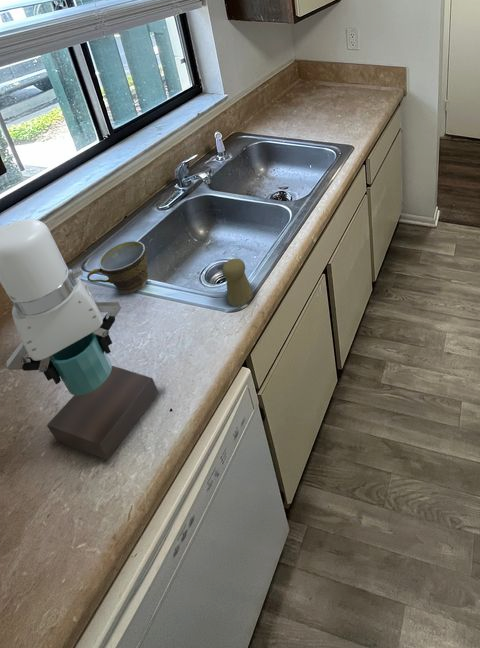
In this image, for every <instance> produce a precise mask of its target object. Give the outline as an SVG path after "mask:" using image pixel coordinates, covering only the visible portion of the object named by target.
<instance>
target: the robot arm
mask: <svg viewBox="0 0 480 648" xmlns="http://www.w3.org/2000/svg"><path fill="white" fill-rule="evenodd" d="M83 275H84V273H83V271H82V269H81V267H78V268H74V269H71V268H69V267H68V266H67V264H66V261H65V259H64V258H63V255H62V253H61V252H60V249H59V248H58V244H57V243H56V240H55V239H54V237H53V235H52V233H51V231H50V229H49V227H48V226H47V224H45V223H44V222H43V221H41V220H38V219H33V218H32V219H31V218H29V219H22V220H17V221H13V222H11V223H8V224H6V225H0V284H1V286H2V287H3V289H4V291H5V293H6V295H7V296H8V298H9V299H10V301H11V303H12V305H13V306H12V308H11V315H12V319H13V322H14V325H15V328H16V331H17V333H18V335H19V338H20V340H21V341H20V343H19V344H18V346H16V349H15V350H13V353H12V354H11V355H10V357H9V358H8V359H7V361H6V362H5V364H6V369H7V370H8V371H9V370H11V371H12V370H14V371H20V370H22V371H24V372H28V371H31V372H32V371H37V372H38V373H43V375H44V377H45V378H46V380H47V381H50V380H53V382H54V384H55V385H59V384H60V383H61V381H62V379H61V377H60V375H59V374H58V372H57V370H56V369H55V367H54V365H53V363H52V362H51V360H50V357H51V355H53V354H55V353H56V352H58V351H60V350H62V349H64V348H66V347H67V346H69V345H71V344H73V343H75V342H76V341H78V340H80V339H82V338H83V337H85V336H87V335H89V334H90V333H94V334H96V335H98V338H99V340H100V343H101V345H102V347H103V349H104V351H105V353H106V354H107V355H109V354H110V353H112V351H111V349H110V347H109V346H111V345H112V344H113V340H112V339H111V336H110V330H111V328H112V327H113V325H114V323H115V321H116V317H117V316H118V314H119V313H120V311H121V309H122V306H121V304H120V302H119V301H118V302H117V301H96V300H95V298H94V296H93V294H92V293H91V291H90V290H89V288H88V287H87V285H86V284H85V283H84V281H82V280H81V278H80V277H81V276H83ZM102 313H106V314H105V315H104V317H102ZM27 354H28V356H27V357H25V356H26V355H27Z"/></svg>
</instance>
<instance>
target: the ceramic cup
mask: <svg viewBox="0 0 480 648" xmlns="http://www.w3.org/2000/svg"><path fill="white" fill-rule="evenodd" d="M98 267H99V268H95V269H93V270H91V271H89V273H87V276H86V279H87V281H88V282H90V283H99V282H100V283H109V284H111V285H113V286H114V287H115V288H116V289H117V290H118V292H119V293H120V294H122V295H123V294H126V295H127V294H129V295H130V294H133V293H135V292H137V291H139V290H141V289H143V288H144V286H145V285H146V284H147V282H148V281H149V274H148V264H147V252H146V246H145V244H144V243H142V241H137V240H128V241H123V242H120V243H118V244H115V245H114V246H112V247H111V248H108V249H107V250H106V251H105V252H104V253H103V254H102V255H101V256H100V258H99V260H98ZM95 274H102V275H104V276H106V277H107V278H108V279H90V277H91V276H93V275H95Z"/></svg>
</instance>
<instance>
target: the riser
mask: <svg viewBox="0 0 480 648" xmlns="http://www.w3.org/2000/svg"><path fill="white" fill-rule="evenodd" d="M159 394H160V393H159V390H158V388H157V386H156V384H155V381H154V379H153V378H152V377H151V376H148V375H145V374H140V373H138V372H134V371H131V370H128V369H124V368H122V367H118V366H115V365H112V369H111V372H110V375H109V376H108V378H107V379H106V381H105V382H104V383H103V384H102V385H101V386H99V387H98V388H97V389H95V390H94V391H92V392H90V393H87V394H84V395H72V397H71V398H70V399H69V400H68V401H67V402H66V403H65V405H64V406H63V407H61V409H60V410H59V411H58V412H57V413H56V414H55V415H54V416H53V418H51V420H50V421H49V422H48V423H47V424H46V427H47V428H48V430H49V431H50V432H51V434H52V436H53V437H54V439H55V440H56V441H57V442H59V443H62V444H65V445H67V446H70V447H72V448H75V449H78V450H81V451H83V452H86V453H89V454H90V455H94V456H96V457H99V458H101V459H105V460H107V461H109V460H110V459H111V457H112V456H113V455H114V454H115V453H116V451H117V449H118V448H119V447H120V446H121V445H122V443H123V442H124V441H125V440H126V438H127V436H128V435H129V434H130V432H131V431H132V430H133V429H134V427H135V426H136V425H137V423H138V421H139V420H140V419H141V418H142V416H143V415H144V414H145V412H146V411H147V410H148V409H149V407H150V406H151V405H152V403H153V402H154V401H155V400H156V398H157V397H158V395H159Z"/></svg>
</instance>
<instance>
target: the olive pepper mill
mask: <svg viewBox="0 0 480 648" xmlns="http://www.w3.org/2000/svg"><path fill="white" fill-rule="evenodd" d="M245 271H246V264H245V262H244V261H243V259H241V258H236V257H235V258H231V259H229V260H227V261H226V262H225V263H224V264H223V266H222V269H221V272H222V276H223V278H225V281H226V294H227V302H228V304H229V305H230V306H232V307H241V306H244V305H246V304H247V303H249V302H250V301H251V300H252V298H253V296H254V291H253V288H252V286H251V284H250V282H249V280H248V277H247V274H246V272H245Z"/></svg>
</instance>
